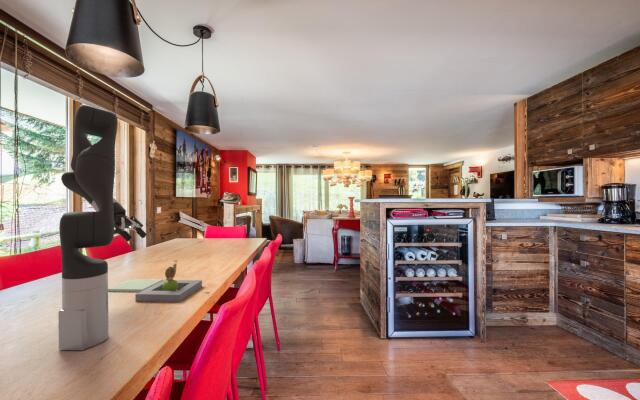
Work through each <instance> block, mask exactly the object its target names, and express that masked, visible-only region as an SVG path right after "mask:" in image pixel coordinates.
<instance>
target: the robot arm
mask: <svg viewBox="0 0 640 400" xmlns="http://www.w3.org/2000/svg"><path fill="white" fill-rule="evenodd" d="M118 121H119V120H118V117H117V114H116V113H114V112H112V111H109V110H106V109H103V108H100V107H96V106H92V105H88V104H80V105H79V106H78V107H77V109H76V112H75V115H74V123H73V152H72V157H71V161H70V169H71V170H69V171H66V172H64V173H63V174H61V178H60V179H61V183H62V184H63V186H65V188H67V189H68V190H70V191H71V192H73V193H74V194H76V195H78V196H80V197H82V198H83V199H84V200H85V201H86V202H88V203H89V205H90V206H91V207H92V208H93V209H94V211H69V212H65V213H63V214H62V216H61V218H60V220H59V226H58V227H59V241H60V254H61V309H60V310H59V311H58V312H57V313H58V350H59V351H84V350H86V349H88V348H91V347H96V346H98V345H99V344H102V343H103V342H104V341H107V339H108V338H109V292H108V289H109V265H108V262H107V261H106V260H104V259H100V258H95V257H91V256H88V255H85V254H83V253H82V252H81V251H80V250H79V249H88V248H89V249H90V248H101V247H107V246H110V245H111V243H113V240H114V236H115V235H119V236H121V237H122V238H123V240H125V242H130V241H132V239H133V236H132V235H131V234H130V233H129V232H128V231H127V230H126V229H128V230H129V231H131V230H132V231H134V232H135V233H136V234H137V235H139V237H140V238H142V239H144V238H146V237H147V235H148V234H147V232H146V231H144V229H143V228H142V227H144V224H143V223H142V222H141V221H140V220H138V219H137V218H136V217H135V216H134V215H131V216H130V217H129V216H127V215H126V212H127V210H126V209H125V208H124V207H123V206H122V204H120V203H119V202H118V201H117V199H115V198H114V188H115V187H114V185H115V175H116V162H115V161H116V160H115V159H116V150H115V148H116V141H117V139H116V138H117V133H118V125H119V124H118ZM87 135H88V136H92V137H93V136H94V137H98V138H101V139H99V140H98V141H97V142H95V143H93V144H92V143H91V141H90V140H89V138H88V136H87Z"/></svg>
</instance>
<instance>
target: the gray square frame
mask: <svg viewBox="0 0 640 400" xmlns="http://www.w3.org/2000/svg"><path fill="white" fill-rule="evenodd" d="M175 280H176V281H177V283H178V289H177V291H163V289H162V286H163V284H164V282H165V281H167V280H166V279H163V281H161V282H159V283H157V284H155V285H153V286H151V287H149V288H147V289H145V290H143V291H141V292H136V293H135V295H134V296H135V297H134V299H135V302H158V303H159V302H168V303H169V302H172V303H173V302H174V303H176V302H177V303H178V302H179V303H180V302H182V301H183V300H184V299H185V298H187V297H188V296H190V295H191V294H193V293H195V292H196V291H197V290H199V289H200V288H202V287H203V280H202V279H200V280H199V279H197V280H196V279H193V280H192V279H190V280H189V279H188V280H187V279H175Z"/></svg>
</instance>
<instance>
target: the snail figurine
mask: <svg viewBox="0 0 640 400" xmlns="http://www.w3.org/2000/svg"><path fill="white" fill-rule="evenodd" d="M173 262H174V263H173V264H172V266H168V267H166V269H165V273H164V274H165V275H164V276H165V280H167V281H165V282H164V284H163V286H162V289H163V291H178V290H179V289H178V283H177V281H176V280H177V279H174V278H175V276H176V273H177V264H178V263H177V262H178V260H173Z"/></svg>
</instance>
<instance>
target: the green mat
mask: <svg viewBox="0 0 640 400" xmlns="http://www.w3.org/2000/svg"><path fill="white" fill-rule="evenodd" d="M163 280H164V279H158V278H155V279H154V278H153V279H151V278H150V279H149V278H148V279H147V278H146V279H145V278H131V279H129V280H126V281H124V282H121V283H119V284H117V285H115V286H111V287H108V293H109V292H111V293H113V292H117V293H120V292H121V293H122V292H123V293H139V292H141V291H143V290H145V289H147V288H149V287H151V286H153V285H155V284H157V283H159V282H161V281H163Z"/></svg>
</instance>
